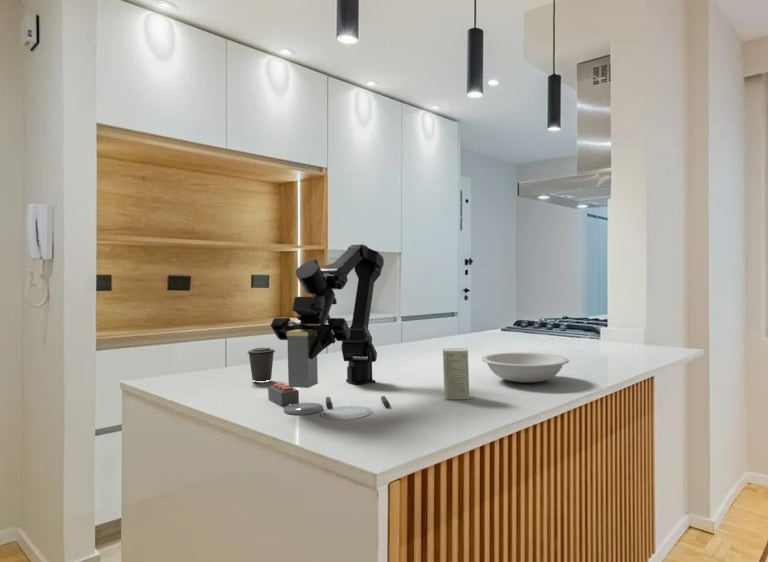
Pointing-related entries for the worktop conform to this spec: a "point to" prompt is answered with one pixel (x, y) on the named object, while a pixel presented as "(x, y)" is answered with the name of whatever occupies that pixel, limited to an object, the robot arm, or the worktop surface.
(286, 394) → the gray power strip
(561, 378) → the worktop surface
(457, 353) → the skincare box
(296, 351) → the charcoal tea tin
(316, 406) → the gray disc
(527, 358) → the soup bowl
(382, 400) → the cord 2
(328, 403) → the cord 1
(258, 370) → the coffee cup
